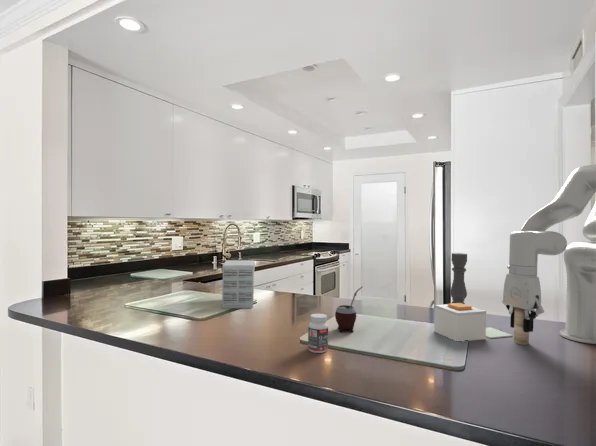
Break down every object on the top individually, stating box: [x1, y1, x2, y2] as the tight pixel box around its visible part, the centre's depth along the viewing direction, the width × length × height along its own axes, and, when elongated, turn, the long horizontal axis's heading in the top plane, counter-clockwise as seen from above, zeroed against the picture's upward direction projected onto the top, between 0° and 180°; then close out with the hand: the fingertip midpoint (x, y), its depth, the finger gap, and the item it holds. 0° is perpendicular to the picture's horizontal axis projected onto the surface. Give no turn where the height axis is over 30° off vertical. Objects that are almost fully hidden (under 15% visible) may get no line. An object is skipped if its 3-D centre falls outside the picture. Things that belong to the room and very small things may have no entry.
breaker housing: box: [433, 303, 487, 342], centre depth 120 cm, size 11×11×9 cm
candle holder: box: [449, 252, 468, 304], centre depth 143 cm, size 6×6×25 cm
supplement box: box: [221, 259, 255, 309], centre depth 160 cm, size 17×13×18 cm
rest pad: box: [486, 326, 513, 339], centre depth 123 cm, size 9×9×1 cm
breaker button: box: [447, 302, 473, 311], centre depth 120 cm, size 5×5×3 cm
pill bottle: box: [307, 313, 329, 354], centre depth 105 cm, size 6×6×10 cm
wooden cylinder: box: [513, 307, 530, 346], centre depth 114 cm, size 4×4×11 cm
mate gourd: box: [334, 286, 364, 334], centre depth 124 cm, size 8×8×15 cm
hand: (521, 328), depth 114 cm, fingers closed on wooden cylinder, 4 cm apart
